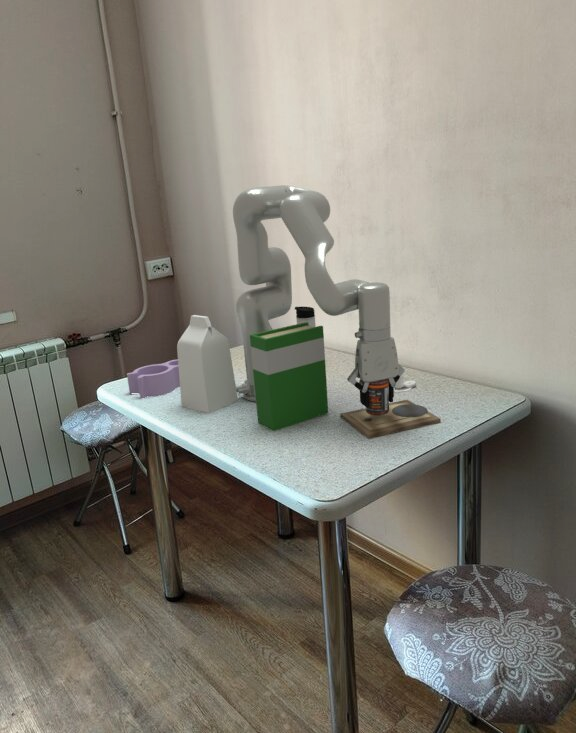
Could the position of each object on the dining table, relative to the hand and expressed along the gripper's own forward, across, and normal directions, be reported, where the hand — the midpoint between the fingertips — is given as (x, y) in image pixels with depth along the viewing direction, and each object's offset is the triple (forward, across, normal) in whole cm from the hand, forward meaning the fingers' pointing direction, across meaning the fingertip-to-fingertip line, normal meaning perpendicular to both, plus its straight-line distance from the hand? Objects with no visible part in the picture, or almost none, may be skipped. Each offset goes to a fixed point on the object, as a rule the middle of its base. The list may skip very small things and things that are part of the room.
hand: (377, 402), depth 155 cm
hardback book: (+6, -18, +14) cm, 23 cm away
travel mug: (+6, +4, +58) cm, 58 cm away
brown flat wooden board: (+5, +3, 0) cm, 6 cm away
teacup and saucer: (+6, +18, +18) cm, 26 cm away
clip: (+6, -46, +60) cm, 76 cm away
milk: (+6, -35, +38) cm, 52 cm away
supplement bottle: (+3, 0, 0) cm, 3 cm away
